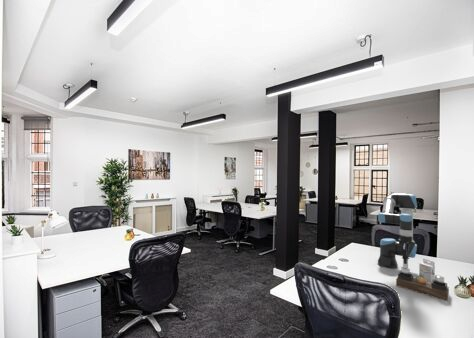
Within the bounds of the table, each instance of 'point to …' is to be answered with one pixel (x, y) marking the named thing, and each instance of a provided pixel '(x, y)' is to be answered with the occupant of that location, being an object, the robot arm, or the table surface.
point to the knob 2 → (439, 279)
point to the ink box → (427, 270)
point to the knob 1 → (405, 271)
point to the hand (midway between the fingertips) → (405, 267)
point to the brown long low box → (423, 286)
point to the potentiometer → (421, 280)
